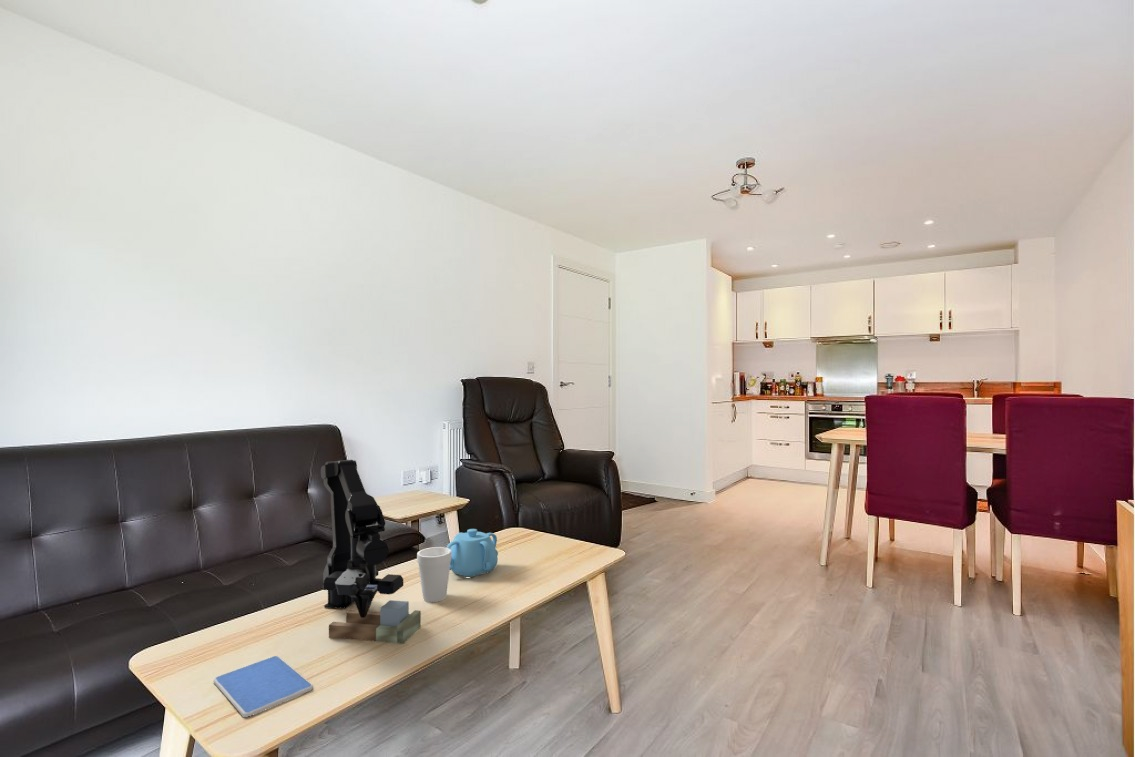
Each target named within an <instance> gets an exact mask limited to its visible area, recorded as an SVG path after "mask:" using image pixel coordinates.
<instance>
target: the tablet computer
mask: <svg viewBox="0 0 1135 757" xmlns="http://www.w3.org/2000/svg"><path fill="white" fill-rule="evenodd" d="M213 682H214V683H213ZM213 682H212V683H213V684H214V685H215V686H216V687H217V688H218V689H219V690H220V691H221V692H222V693H223V695H224V696H225V697H226V698H227V699H228V701H229V702H230V703H231V704H232V705H233V706H234V707H235V709H236V710H237V711H238V712H239V714H240V715H241V716H242V717H243V718H249V717H248V716H250V717H252V716H251V715H253V714H255V715H257V714H256V713H258V712H260V713H262V712H261V711H263V710H265V709H268V708H270V707H272V708H274V707H273V706H275V705H277V704H279V705H281V704H280V703H282V702H284V703H286V702H288V701H287V700H289V701H290V699H291V700H293V699H295V698H298V697H300V696H302V695H304V694H306V693H309V692H310V691H312V690H313V688H314V685H313V684H312V682H310V681H309V680H307V678H305V677H304V676H303V675H302V674H300V672H298V671H297V670H296V669H295V668H293V667H292V666H291V665H290V664H288V663H287V662H286V661H285V660H283V659H282V658H281V657H280V656H278V655H274V656H272V657H271V656H270V657H269V658H265V659H263V660H259V661H257V662H255V663H252V664H248V665H246V666H243V667H240V668H238V669H235V670H232V671H230V672H226V673H224V674H221V675H218V676H216V677H215V678H213ZM301 694H302V695H301ZM299 695H300V696H299ZM297 696H298V697H297ZM294 697H295V698H294ZM292 698H293V699H292ZM285 701H286V702H285ZM282 704H283V703H282ZM277 706H278V705H277ZM275 707H276V706H275ZM270 709H271V708H270ZM268 710H269V709H268ZM265 711H266V710H265ZM263 712H264V711H263ZM258 714H259V713H258ZM253 716H254V715H253Z"/></svg>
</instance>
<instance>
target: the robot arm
mask: <svg viewBox="0 0 1135 757" xmlns="http://www.w3.org/2000/svg"><path fill="white" fill-rule="evenodd" d="M320 476H321V477H320V478H321V479H322V480H323V486H324V487H325V488H326V490H327V491H328V493H330V510H331V527H332V528H331V529H332V534H331V535H332V548H331V549H330V552H329V553H328V554H327V559H326V560H327V562H326V564H325V567H324V569H323V573H322V590H323V591H327V603H326V604H324V605H323V607H324V608H330V609H342V610H345V609H347V608H348V607H350V606H351V605H353V604H355V606H356V610H358V612H359V614H360V617H361V618H364V617H366V615H367V613H368V611H370V607H371V605H372V603H373V600H374V599H375V596H376V594H377V592H378V593H379V594H380V595H393V594H395V593H396V592H397V591H399V590H400V589H401V588H402V587H403V586H404V578H403V576H402V575H401V574H389V573H387V574H386V575H385V576H384V577H383V578H377V576H379V570H376V569H377V568H376V565H379V564H381V563H383V562H384V561H385V560H386V559H387V557H388V556H389V555H388V554H389V551H390V550H389V549H390V548H389V546H388V544H387V542H386V541H385V540H383V539H382V538H381V534H380V533H382V532H385V530H386V528H385V526H386V521H385V517H384V514H383V511H382V509H381V505H378V502H377V500H376V499H375V497H373V496H372V495H370V494H368V492H366V489H365V486H364V484H363V482H362V479H361V476H360V474H359V472H358V465H357V461H356V460H353V459H346V460H335V461H326V462H325V463H324V465H322V466H321V468H320Z"/></svg>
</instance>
